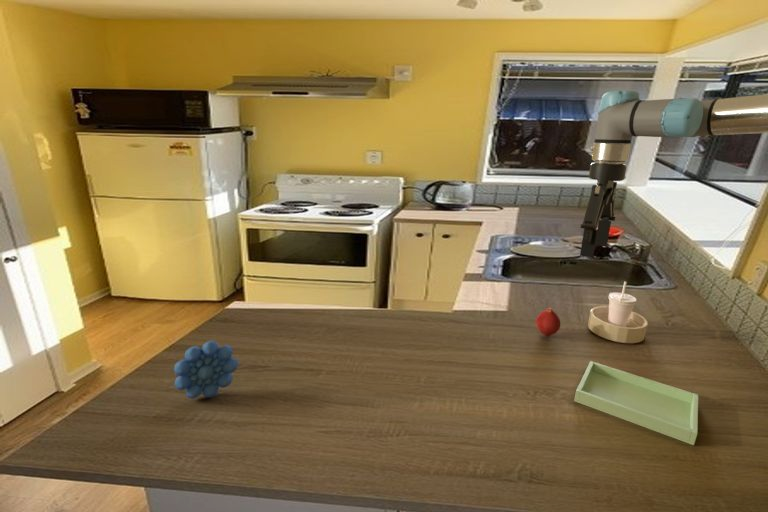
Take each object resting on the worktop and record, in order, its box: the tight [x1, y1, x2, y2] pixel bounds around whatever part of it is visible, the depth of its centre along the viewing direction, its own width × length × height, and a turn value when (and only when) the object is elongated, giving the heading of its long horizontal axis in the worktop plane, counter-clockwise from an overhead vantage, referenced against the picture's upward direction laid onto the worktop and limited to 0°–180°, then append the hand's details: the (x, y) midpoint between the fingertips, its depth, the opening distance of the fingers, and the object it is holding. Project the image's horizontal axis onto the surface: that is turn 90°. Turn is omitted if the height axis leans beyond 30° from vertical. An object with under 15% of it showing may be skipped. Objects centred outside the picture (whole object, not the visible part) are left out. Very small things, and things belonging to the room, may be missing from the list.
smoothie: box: [607, 281, 638, 327], centre depth 110 cm, size 6×6×14 cm
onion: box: [535, 307, 561, 338], centre depth 108 cm, size 6×6×8 cm
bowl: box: [587, 305, 649, 344], centre depth 112 cm, size 13×13×4 cm
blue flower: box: [173, 340, 239, 400], centre depth 81 cm, size 12×7×12 cm, turn 106°
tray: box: [573, 360, 699, 446], centre depth 83 cm, size 20×14×2 cm
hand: (594, 250), depth 104 cm, fingers open, 13 cm apart
